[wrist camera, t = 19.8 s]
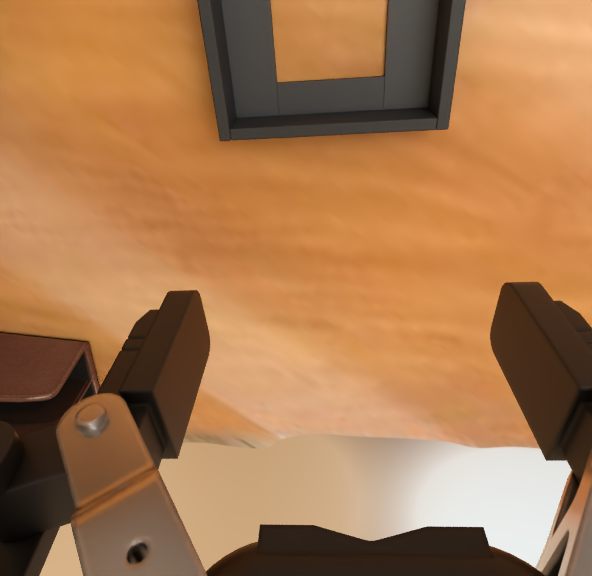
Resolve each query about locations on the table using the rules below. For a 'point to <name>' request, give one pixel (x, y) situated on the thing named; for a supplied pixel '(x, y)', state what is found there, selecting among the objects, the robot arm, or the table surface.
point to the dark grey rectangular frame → (332, 92)
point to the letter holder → (42, 379)
